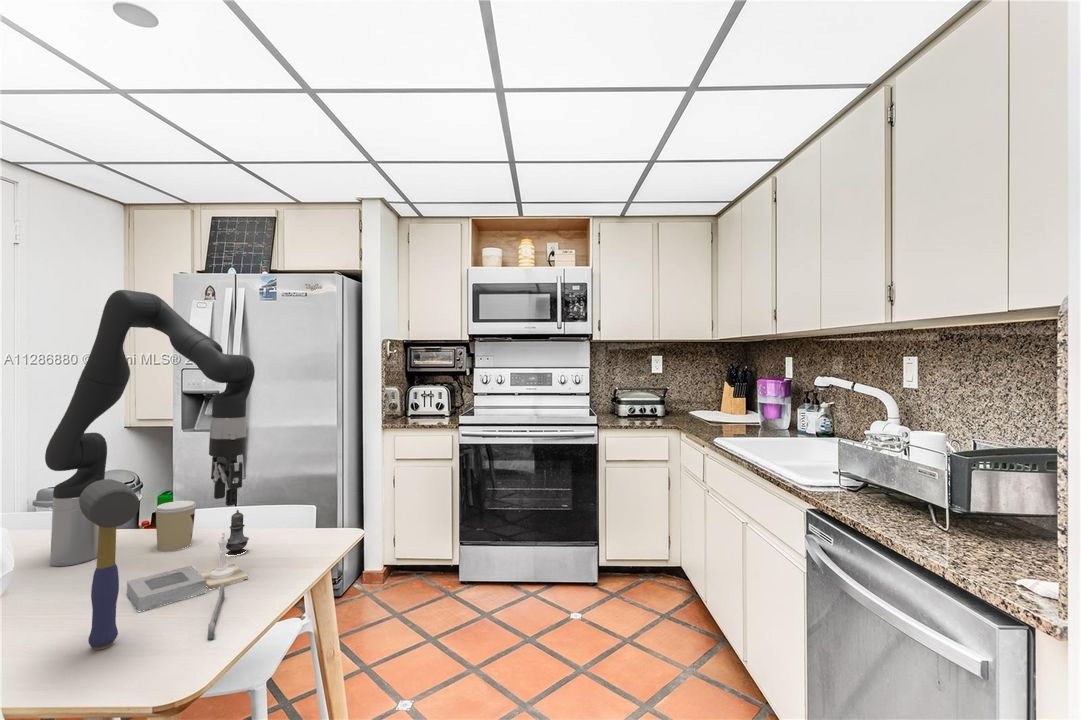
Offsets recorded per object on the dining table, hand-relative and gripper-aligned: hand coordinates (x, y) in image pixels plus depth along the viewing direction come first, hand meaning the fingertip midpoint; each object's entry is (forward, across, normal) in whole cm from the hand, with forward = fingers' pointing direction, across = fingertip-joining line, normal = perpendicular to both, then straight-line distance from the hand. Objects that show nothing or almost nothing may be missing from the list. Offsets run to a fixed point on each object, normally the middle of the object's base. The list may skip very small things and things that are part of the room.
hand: (225, 501), depth 118 cm
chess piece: (+18, 0, 0) cm, 18 cm away
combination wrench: (+19, +20, -6) cm, 28 cm away
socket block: (+19, 0, -11) cm, 22 cm away
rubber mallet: (+19, +17, -24) cm, 35 cm away
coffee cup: (+19, -34, -2) cm, 39 cm away
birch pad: (+19, 0, 0) cm, 19 cm away
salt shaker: (+19, -16, +8) cm, 26 cm away
